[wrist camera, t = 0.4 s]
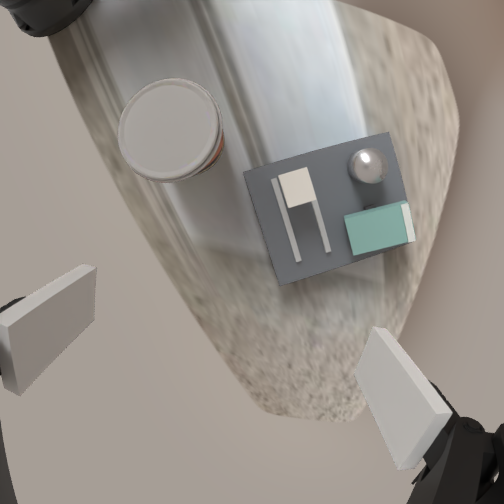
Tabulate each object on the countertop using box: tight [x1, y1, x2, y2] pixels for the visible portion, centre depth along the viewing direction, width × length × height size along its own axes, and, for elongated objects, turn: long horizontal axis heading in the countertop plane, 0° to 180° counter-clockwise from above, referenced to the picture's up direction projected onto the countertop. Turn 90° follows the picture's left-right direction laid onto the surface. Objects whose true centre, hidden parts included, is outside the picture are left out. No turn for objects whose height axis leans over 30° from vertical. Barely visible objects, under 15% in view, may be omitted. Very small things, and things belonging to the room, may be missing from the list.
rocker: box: [344, 200, 416, 256], centre depth 32 cm, size 4×7×2 cm, turn 108°
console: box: [243, 132, 414, 286], centre depth 35 cm, size 13×17×5 cm
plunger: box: [347, 148, 388, 184], centre depth 31 cm, size 4×4×3 cm
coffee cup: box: [118, 78, 224, 183], centre depth 30 cm, size 9×9×12 cm
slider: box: [278, 167, 317, 208], centre depth 31 cm, size 3×3×4 cm
